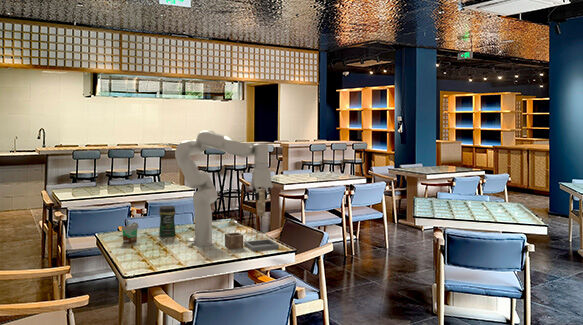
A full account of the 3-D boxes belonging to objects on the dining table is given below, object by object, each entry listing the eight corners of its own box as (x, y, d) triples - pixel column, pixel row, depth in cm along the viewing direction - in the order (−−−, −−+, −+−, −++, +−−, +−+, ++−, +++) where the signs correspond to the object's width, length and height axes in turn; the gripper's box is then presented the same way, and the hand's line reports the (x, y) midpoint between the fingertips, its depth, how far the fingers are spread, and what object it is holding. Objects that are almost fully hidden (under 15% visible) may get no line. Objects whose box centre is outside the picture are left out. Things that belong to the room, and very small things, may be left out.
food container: (131, 244, 266) (131, 226, 265) (121, 243, 267) (121, 226, 266) (142, 239, 278) (142, 222, 277) (133, 238, 279) (133, 222, 278)
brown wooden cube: (229, 251, 252) (229, 236, 251) (224, 247, 259) (224, 233, 258) (243, 249, 255) (243, 235, 254) (238, 246, 262) (238, 232, 262)
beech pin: (259, 216, 254) (259, 190, 253) (256, 214, 258) (256, 189, 257) (266, 215, 256) (266, 190, 255) (263, 214, 259) (263, 189, 258)
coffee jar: (159, 237, 282) (158, 207, 281) (159, 234, 290) (158, 205, 288) (175, 236, 285) (175, 206, 283) (175, 234, 292) (175, 204, 291)
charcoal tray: (252, 252, 249) (252, 247, 248) (244, 246, 261) (244, 241, 261) (278, 250, 255) (278, 244, 254) (269, 244, 267) (269, 239, 267)
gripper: (248, 167, 248) (248, 201, 249) (278, 166, 255) (278, 199, 256) (244, 166, 255) (244, 199, 256) (272, 165, 262) (272, 197, 263)
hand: (261, 199), depth 256 cm, fingers closed on beech pin, 4 cm apart
